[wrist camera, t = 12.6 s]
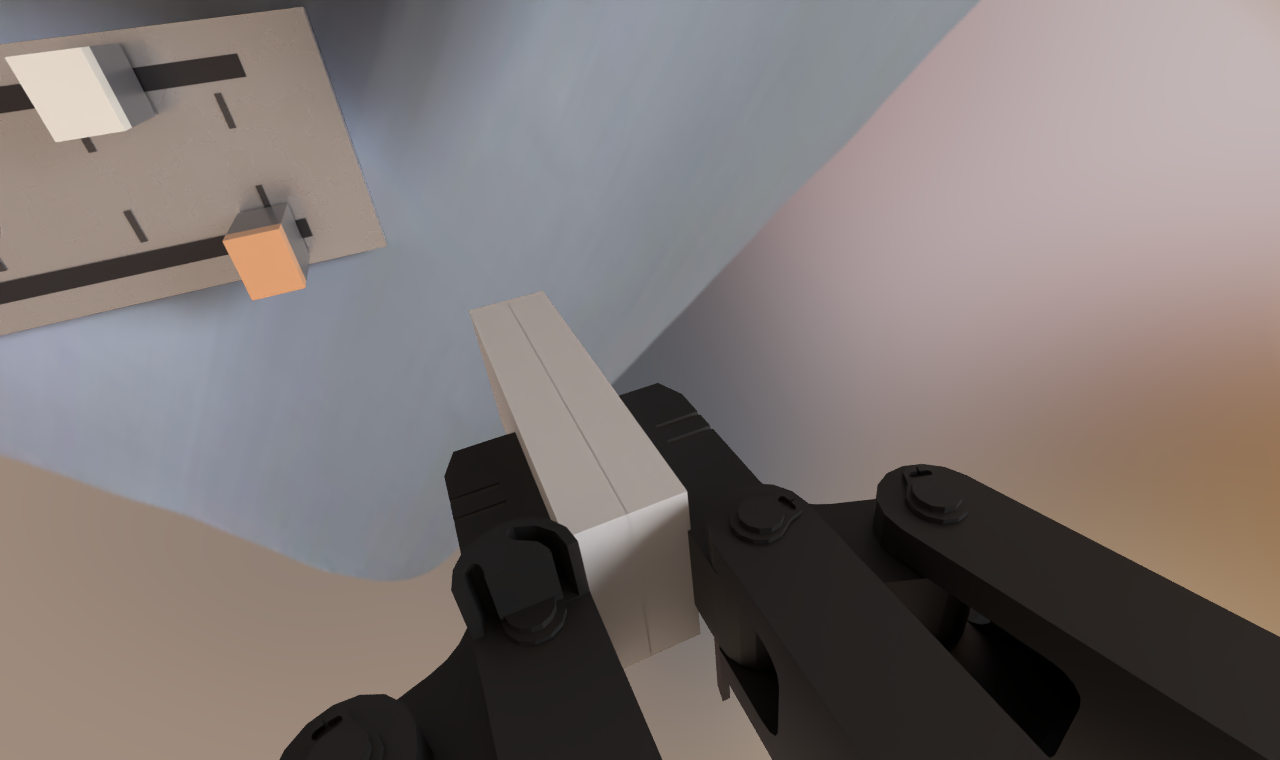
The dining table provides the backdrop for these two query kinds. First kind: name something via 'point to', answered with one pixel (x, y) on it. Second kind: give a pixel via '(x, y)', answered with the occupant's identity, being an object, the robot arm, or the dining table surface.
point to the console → (175, 169)
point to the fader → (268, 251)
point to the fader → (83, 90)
